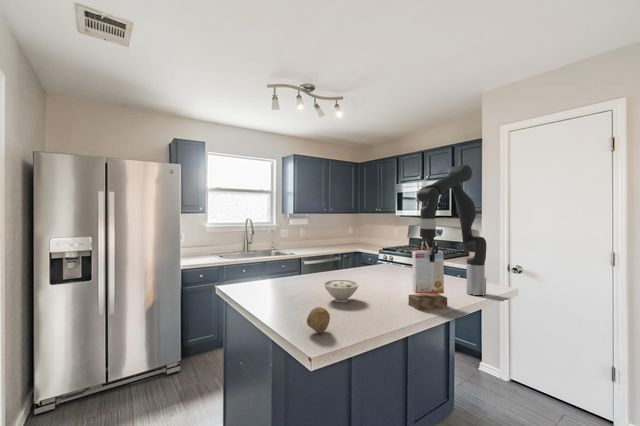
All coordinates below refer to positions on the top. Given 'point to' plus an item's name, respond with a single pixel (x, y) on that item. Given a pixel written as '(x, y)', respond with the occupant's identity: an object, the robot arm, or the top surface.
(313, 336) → the top surface
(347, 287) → the bowl
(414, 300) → the block
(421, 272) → the cracker box
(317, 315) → the brown round lump
